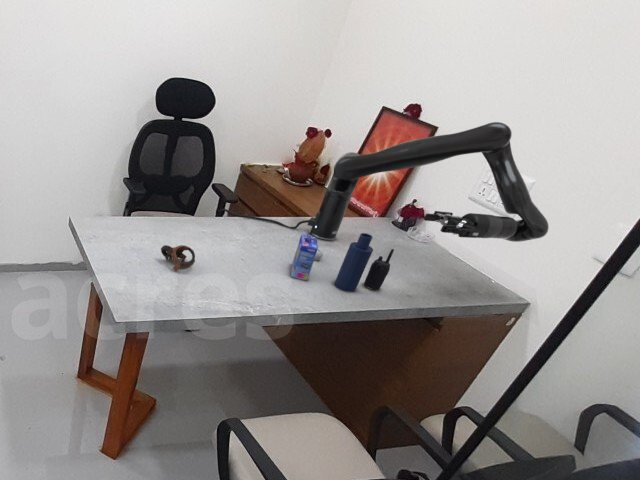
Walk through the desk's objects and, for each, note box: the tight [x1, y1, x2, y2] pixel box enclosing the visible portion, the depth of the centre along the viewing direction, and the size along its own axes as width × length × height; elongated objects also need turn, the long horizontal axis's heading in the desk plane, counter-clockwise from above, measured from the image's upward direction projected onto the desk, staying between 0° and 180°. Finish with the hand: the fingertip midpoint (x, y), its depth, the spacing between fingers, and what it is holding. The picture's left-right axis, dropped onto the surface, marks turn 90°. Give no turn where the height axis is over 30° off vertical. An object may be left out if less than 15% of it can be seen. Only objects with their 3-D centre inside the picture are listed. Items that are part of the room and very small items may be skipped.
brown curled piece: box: [160, 244, 196, 272], centre depth 173 cm, size 12×10×8 cm
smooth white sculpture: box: [314, 248, 324, 261], centre depth 189 cm, size 4×8×5 cm
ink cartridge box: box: [290, 231, 319, 281], centre depth 174 cm, size 10×6×14 cm, turn 161°
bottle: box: [334, 232, 374, 293], centre depth 168 cm, size 7×7×19 cm
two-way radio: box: [363, 248, 395, 291], centre depth 170 cm, size 6×4×15 cm
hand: (433, 222), depth 162 cm, fingers open, 8 cm apart
